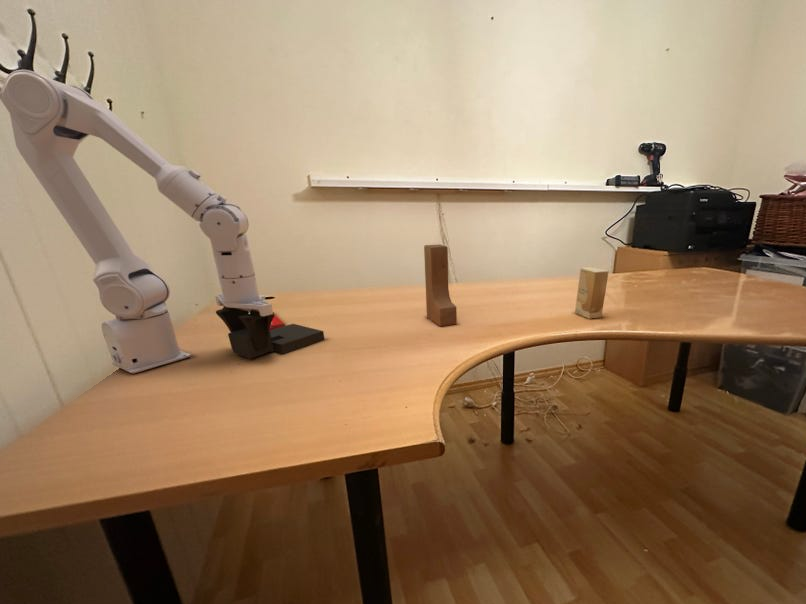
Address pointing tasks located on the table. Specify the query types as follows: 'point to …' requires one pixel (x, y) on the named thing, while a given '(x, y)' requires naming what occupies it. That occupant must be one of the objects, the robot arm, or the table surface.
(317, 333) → the base pad
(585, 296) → the cosmetic box
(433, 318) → the wooden block
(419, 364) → the table surface
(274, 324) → the electronic device
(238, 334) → the pad
